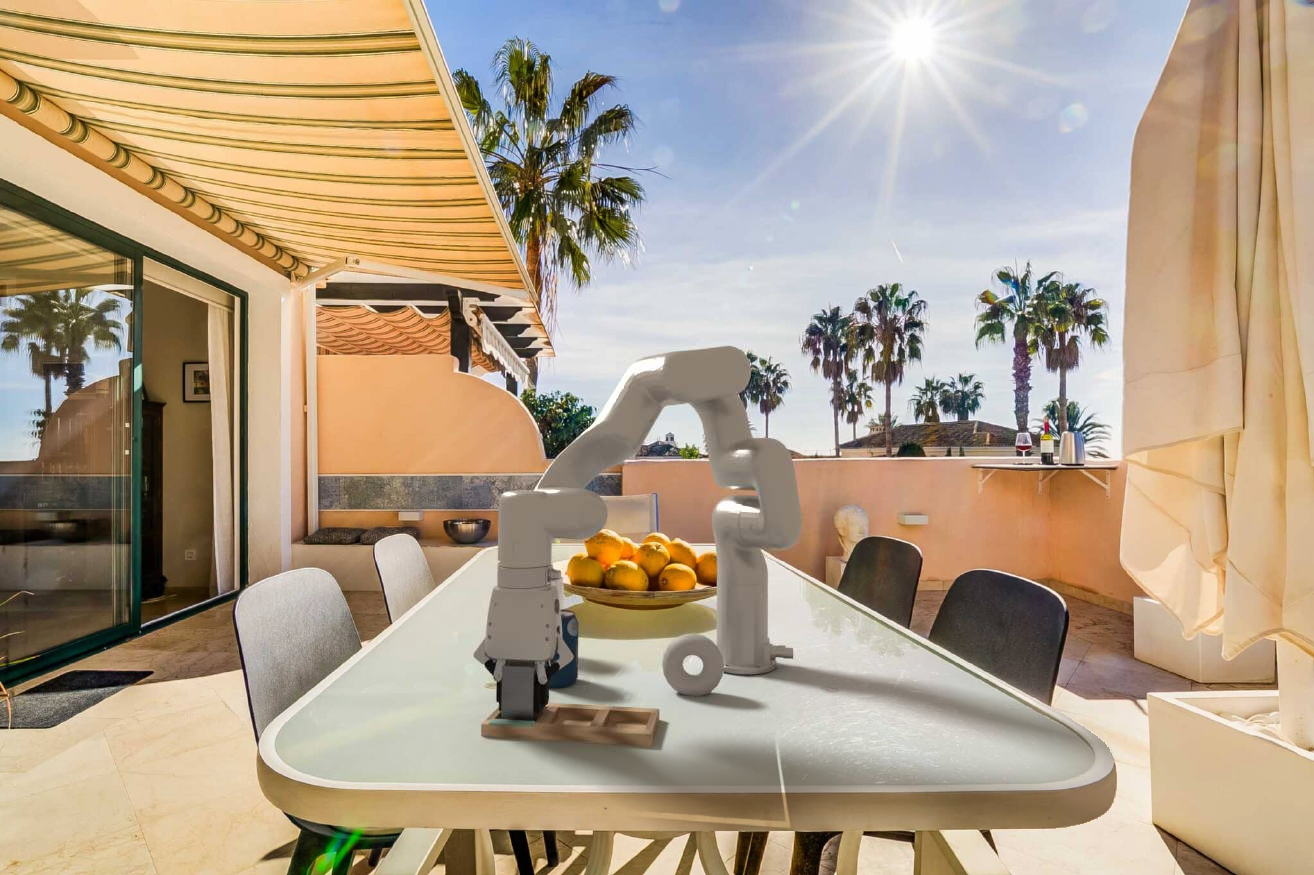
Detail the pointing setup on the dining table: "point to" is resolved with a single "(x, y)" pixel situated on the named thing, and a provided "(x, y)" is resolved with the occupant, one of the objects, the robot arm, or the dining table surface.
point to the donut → (684, 680)
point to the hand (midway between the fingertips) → (522, 707)
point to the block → (519, 691)
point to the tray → (580, 725)
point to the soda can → (570, 637)
